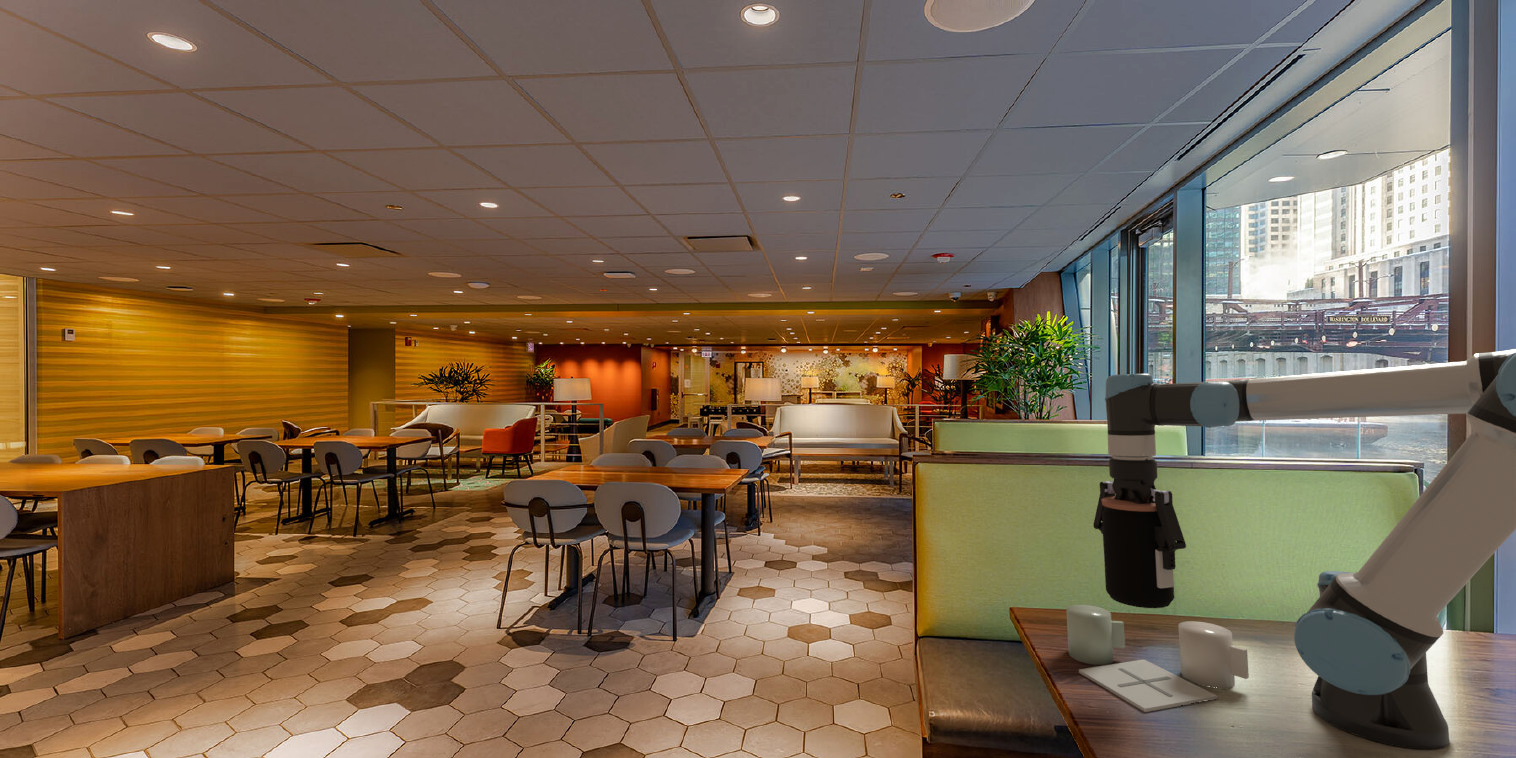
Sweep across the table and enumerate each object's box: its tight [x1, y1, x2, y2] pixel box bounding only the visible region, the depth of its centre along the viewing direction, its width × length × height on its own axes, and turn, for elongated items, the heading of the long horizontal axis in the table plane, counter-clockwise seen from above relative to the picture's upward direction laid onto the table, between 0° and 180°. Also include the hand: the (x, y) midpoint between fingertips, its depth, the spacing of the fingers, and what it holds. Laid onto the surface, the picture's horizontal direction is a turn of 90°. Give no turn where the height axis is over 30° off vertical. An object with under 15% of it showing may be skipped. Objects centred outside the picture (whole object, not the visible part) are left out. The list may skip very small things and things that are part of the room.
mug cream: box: [1178, 620, 1250, 689], centre depth 111 cm, size 10×8×9 cm
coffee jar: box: [1101, 496, 1175, 609], centre depth 110 cm, size 11×11×18 cm
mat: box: [1078, 659, 1218, 713], centre depth 110 cm, size 15×15×1 cm
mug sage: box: [1065, 604, 1126, 666], centre depth 122 cm, size 10×8×9 cm
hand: (1138, 577), depth 110 cm, fingers closed on coffee jar, 11 cm apart
